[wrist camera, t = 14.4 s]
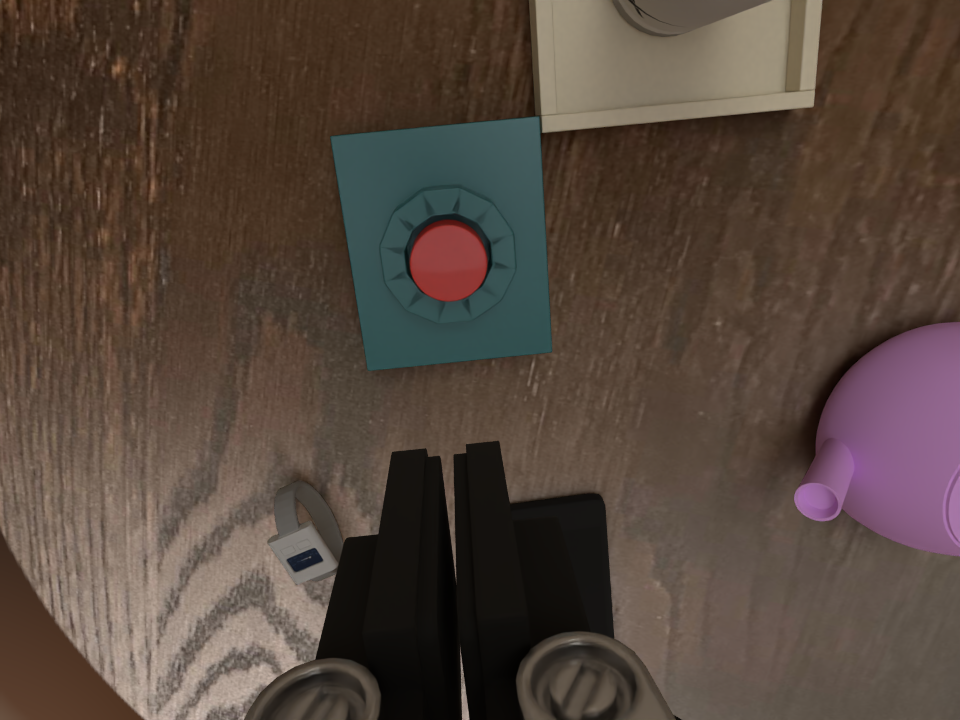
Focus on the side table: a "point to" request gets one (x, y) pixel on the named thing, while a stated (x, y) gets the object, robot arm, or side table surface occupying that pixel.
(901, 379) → the teapot
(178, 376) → the side table surface
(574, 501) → the cell phone
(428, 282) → the button
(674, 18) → the travel mug
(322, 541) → the wristwatch
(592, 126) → the tray
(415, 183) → the block
